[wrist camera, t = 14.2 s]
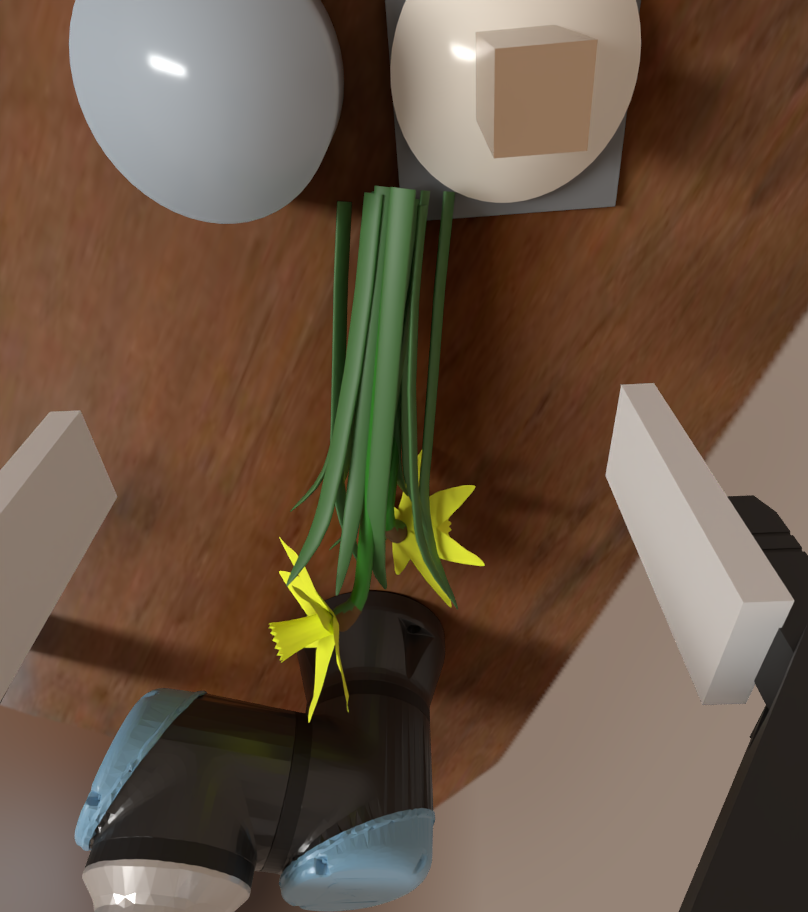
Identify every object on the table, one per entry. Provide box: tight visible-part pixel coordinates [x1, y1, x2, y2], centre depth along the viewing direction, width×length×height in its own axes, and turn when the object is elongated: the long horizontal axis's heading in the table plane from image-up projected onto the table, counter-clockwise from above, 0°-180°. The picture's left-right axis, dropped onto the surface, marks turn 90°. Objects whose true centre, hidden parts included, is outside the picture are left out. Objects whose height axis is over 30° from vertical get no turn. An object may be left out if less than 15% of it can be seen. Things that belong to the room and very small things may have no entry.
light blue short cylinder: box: [69, 0, 344, 224], centre depth 32 cm, size 12×12×7 cm
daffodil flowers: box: [269, 186, 485, 722], centre depth 42 cm, size 17×15×35 cm
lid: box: [390, 0, 641, 203], centre depth 30 cm, size 13×13×10 cm
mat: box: [385, 0, 641, 221], centre depth 34 cm, size 15×13×1 cm
